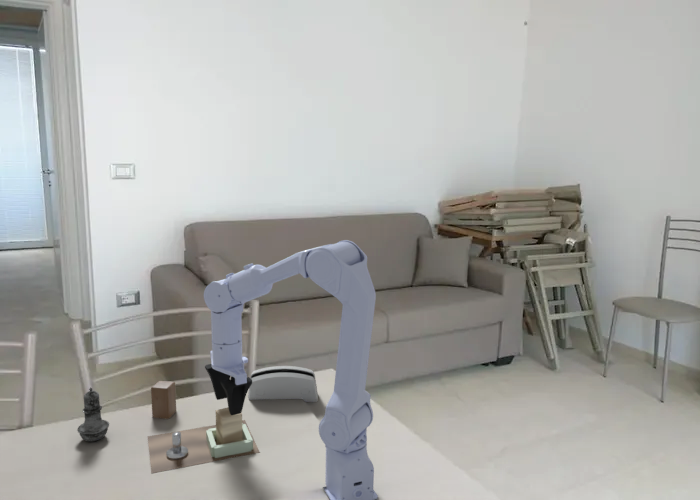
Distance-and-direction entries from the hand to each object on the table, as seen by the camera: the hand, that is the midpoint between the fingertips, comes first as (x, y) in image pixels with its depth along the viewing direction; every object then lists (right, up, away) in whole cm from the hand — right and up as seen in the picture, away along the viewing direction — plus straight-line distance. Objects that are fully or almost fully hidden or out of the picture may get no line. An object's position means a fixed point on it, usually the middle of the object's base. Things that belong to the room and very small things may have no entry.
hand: (228, 405), depth 110 cm
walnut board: (-6, -9, +2) cm, 11 cm away
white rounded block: (+8, -6, +24) cm, 26 cm away
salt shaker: (-28, -9, +3) cm, 29 cm away
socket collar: (0, -8, +2) cm, 8 cm away
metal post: (-9, -9, -2) cm, 13 cm away
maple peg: (0, -8, +2) cm, 8 cm away
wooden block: (-17, -7, +14) cm, 23 cm away
